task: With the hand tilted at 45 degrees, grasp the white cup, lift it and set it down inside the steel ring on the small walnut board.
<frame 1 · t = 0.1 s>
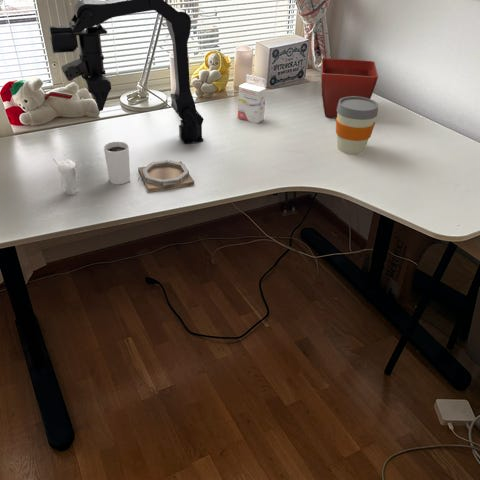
hand: (98, 105, 154), 15 cm above the table, tool pointing down, fingers open, 9 cm apart
plant pot: (342, 112, 194), on the table
ink cartridge box: (250, 119, 186), on the table
reusable coffee cup: (350, 148, 169), on the table
white cup: (120, 179, 148), on the table
ring board: (165, 177, 149), on the table
milkshake: (70, 192, 141), on the table
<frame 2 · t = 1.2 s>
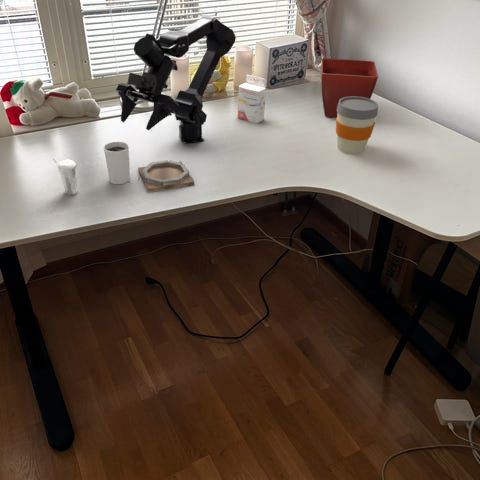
hand: (134, 125, 145), 13 cm above the table, tool tilted 45°, fingers open, 9 cm apart
nothing on the table moved.
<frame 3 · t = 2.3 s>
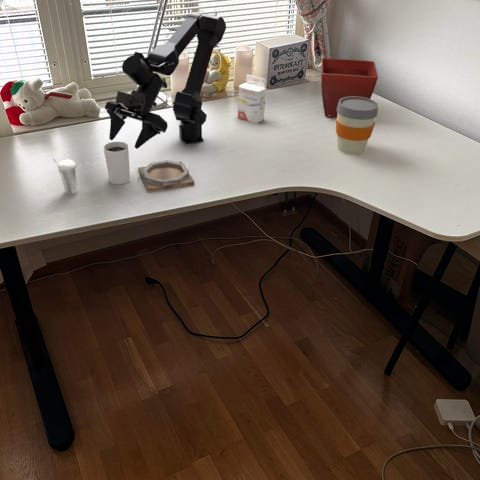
hand: (123, 143, 144), 10 cm above the table, tool tilted 45°, fingers open, 9 cm apart
nothing on the table moved.
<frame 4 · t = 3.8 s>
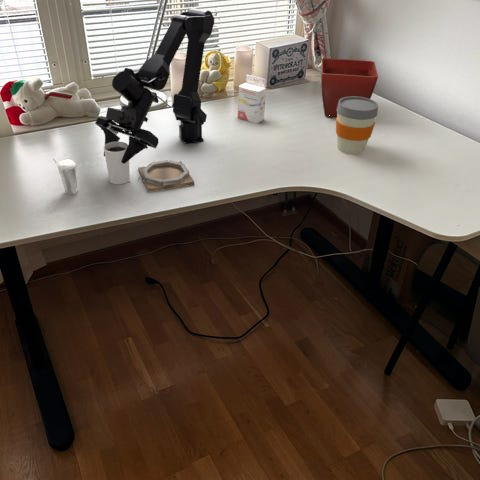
hand: (113, 159, 143), 7 cm above the table, tool tilted 45°, fingers closed on white cup, 6 cm apart
white cup: (119, 179, 148), on the table, touching gripper
everything else where it was.
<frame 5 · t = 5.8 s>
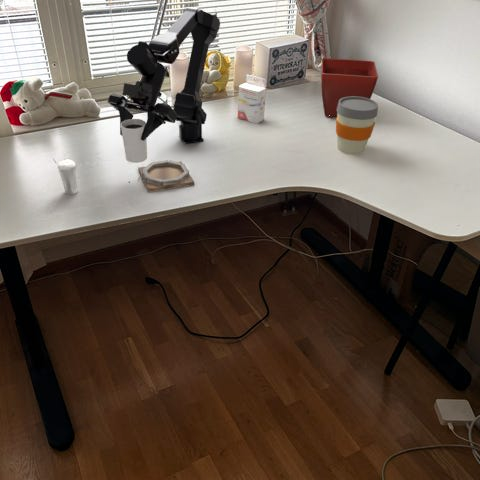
hand: (131, 137, 139), 13 cm above the table, tool tilted 45°, fingers closed on white cup, 6 cm apart
white cup: (136, 158, 144), point 6 cm above the table, touching gripper
everything else where it was.
when the fingers open (9 cm above the table, at t = 8.1 s): white cup stays where it is, resting on ring board.
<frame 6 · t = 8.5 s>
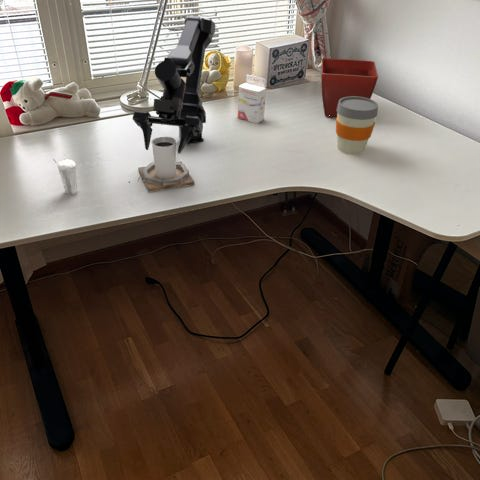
hand: (162, 151, 143), 9 cm above the table, tool tilted 45°, fingers open, 9 cm apart
white cup: (165, 174, 149), point 1 cm above the table, touching ring board
everything else where it was.
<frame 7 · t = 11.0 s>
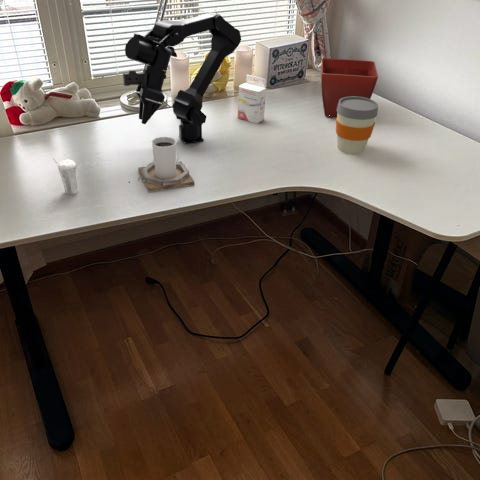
hand: (141, 121, 152), 11 cm above the table, tool tilted 25°, fingers open, 9 cm apart
nothing on the table moved.
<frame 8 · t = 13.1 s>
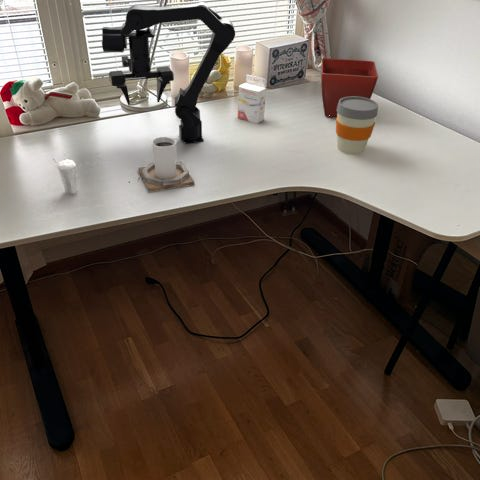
hand: (143, 103, 163), 12 cm above the table, tool pointing down, fingers open, 9 cm apart
nothing on the table moved.
at the end: white cup 0.1 cm off-centre on the ring board, point 0.8 cm above the ring board's base; white cup tilted 0°; the gripper is holding nothing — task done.
